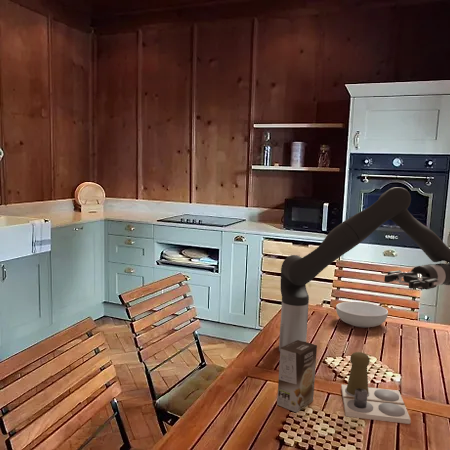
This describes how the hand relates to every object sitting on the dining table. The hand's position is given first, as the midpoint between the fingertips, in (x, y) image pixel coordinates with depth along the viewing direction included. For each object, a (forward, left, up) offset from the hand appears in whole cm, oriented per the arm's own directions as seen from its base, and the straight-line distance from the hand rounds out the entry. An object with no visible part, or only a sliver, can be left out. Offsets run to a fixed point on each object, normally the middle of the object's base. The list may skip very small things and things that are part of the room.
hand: (397, 281), depth 144 cm
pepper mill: (-12, -16, -29) cm, 35 cm away
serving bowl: (-4, +49, -30) cm, 58 cm away
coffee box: (-29, -25, -30) cm, 48 cm away
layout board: (-8, -21, -30) cm, 37 cm away
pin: (-12, -25, -29) cm, 40 cm away
